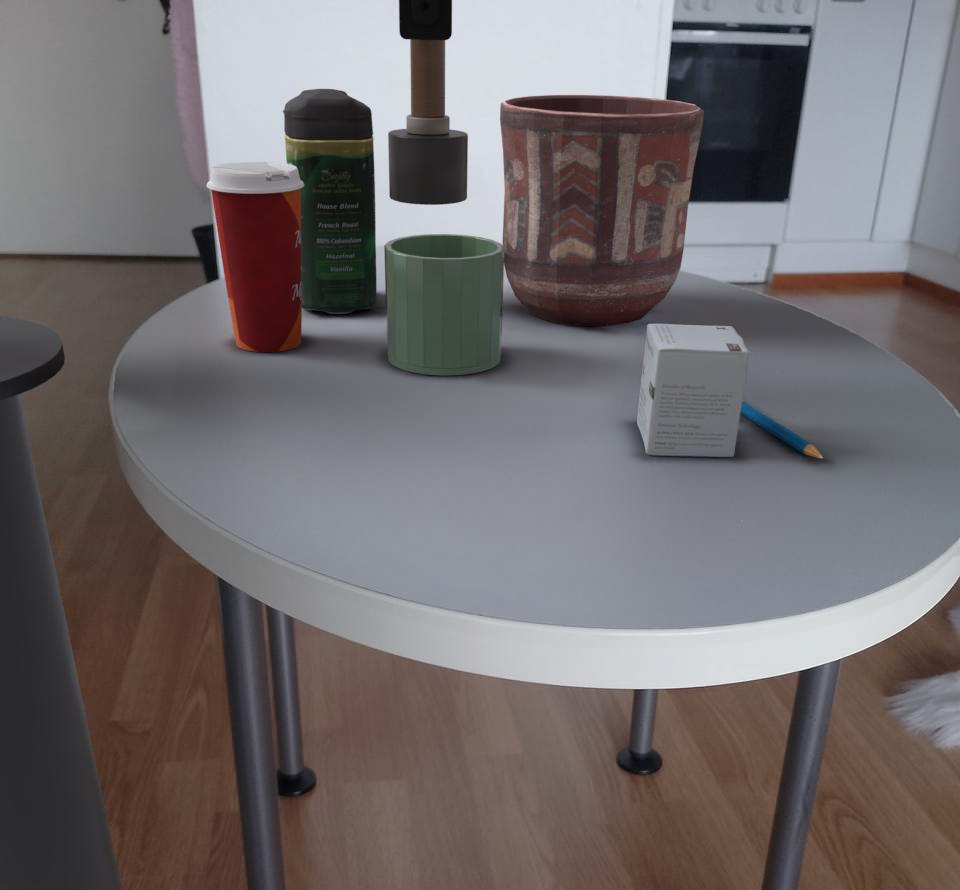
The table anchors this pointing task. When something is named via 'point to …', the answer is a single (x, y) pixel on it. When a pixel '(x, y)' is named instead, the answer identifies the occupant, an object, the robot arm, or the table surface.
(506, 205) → the pottery
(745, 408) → the pencil
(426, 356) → the jar
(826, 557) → the table surface
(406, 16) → the robot arm
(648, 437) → the white cardboard box
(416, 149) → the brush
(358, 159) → the coffee jar
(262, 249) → the paper cup
